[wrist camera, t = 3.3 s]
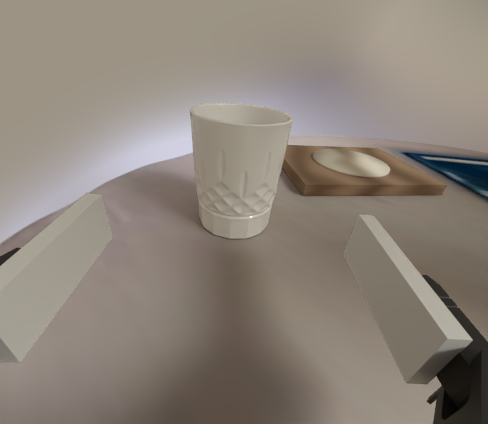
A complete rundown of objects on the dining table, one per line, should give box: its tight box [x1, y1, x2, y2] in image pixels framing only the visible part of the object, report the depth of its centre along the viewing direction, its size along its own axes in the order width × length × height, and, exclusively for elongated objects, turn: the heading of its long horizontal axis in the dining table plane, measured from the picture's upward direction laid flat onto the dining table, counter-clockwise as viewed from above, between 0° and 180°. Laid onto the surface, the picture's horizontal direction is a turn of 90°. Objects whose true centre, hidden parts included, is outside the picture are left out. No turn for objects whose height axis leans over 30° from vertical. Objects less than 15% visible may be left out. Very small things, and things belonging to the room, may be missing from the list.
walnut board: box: [282, 145, 447, 196], centre depth 37 cm, size 20×15×2 cm
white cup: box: [190, 103, 293, 239], centre depth 22 cm, size 8×8×10 cm
